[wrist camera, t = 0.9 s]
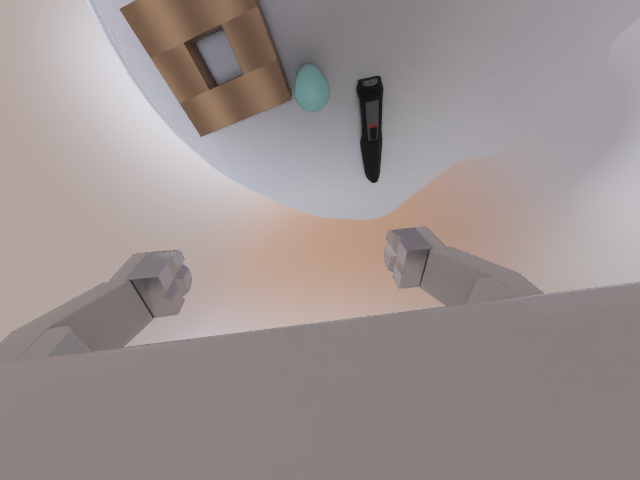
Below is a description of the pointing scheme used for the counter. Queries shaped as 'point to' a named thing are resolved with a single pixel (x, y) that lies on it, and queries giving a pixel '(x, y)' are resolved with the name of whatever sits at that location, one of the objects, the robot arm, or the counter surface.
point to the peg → (311, 88)
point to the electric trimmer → (371, 124)
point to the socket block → (190, 68)
